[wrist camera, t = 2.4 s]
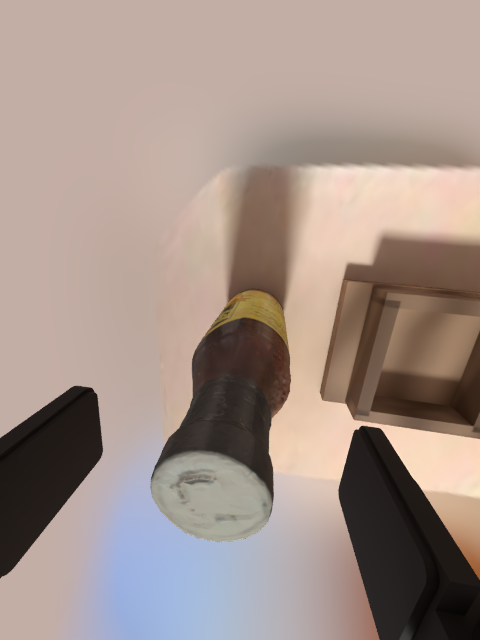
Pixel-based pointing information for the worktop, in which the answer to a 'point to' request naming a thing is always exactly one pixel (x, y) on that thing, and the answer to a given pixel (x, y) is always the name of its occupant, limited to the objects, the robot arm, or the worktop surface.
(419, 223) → the worktop surface
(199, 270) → the worktop surface
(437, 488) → the worktop surface
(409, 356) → the caddy
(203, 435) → the sauce bottle
